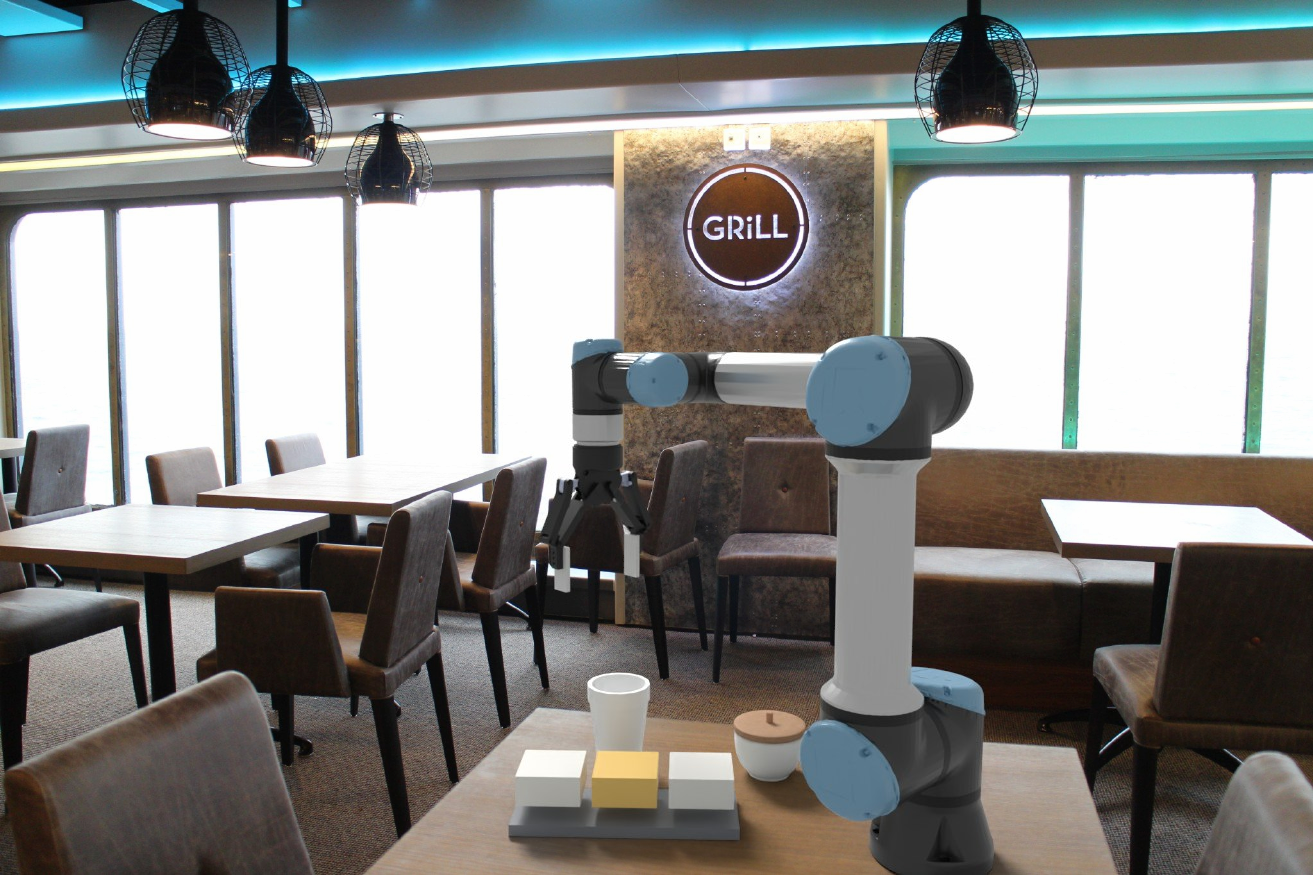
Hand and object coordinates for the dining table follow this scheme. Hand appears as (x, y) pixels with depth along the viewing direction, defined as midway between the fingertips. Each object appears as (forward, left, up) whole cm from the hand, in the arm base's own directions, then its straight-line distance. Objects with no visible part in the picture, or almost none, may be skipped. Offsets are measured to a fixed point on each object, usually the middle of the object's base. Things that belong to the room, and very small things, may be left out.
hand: (598, 583), depth 147 cm
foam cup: (-3, -1, -28) cm, 28 cm away
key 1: (-9, +16, -25) cm, 31 cm away
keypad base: (-16, +9, -28) cm, 33 cm away
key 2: (-23, +2, -25) cm, 34 cm away
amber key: (-16, +9, -25) cm, 31 cm away
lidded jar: (-20, -16, -28) cm, 38 cm away
